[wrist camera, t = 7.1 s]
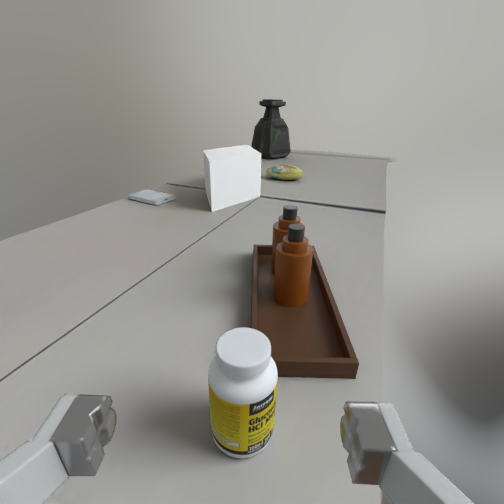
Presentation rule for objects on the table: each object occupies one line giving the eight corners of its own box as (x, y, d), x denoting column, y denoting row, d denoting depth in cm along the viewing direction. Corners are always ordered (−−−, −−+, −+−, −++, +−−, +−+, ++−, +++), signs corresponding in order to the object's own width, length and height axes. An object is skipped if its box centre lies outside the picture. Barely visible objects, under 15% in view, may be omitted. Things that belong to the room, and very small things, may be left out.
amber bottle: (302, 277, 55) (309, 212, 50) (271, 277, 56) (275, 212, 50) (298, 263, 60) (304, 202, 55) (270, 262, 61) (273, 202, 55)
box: (180, 208, 91) (175, 160, 84) (223, 179, 125) (222, 143, 119) (244, 215, 86) (245, 164, 80) (271, 182, 121) (272, 145, 115)
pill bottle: (255, 475, 27) (258, 388, 22) (198, 440, 29) (190, 355, 24) (283, 417, 31) (291, 335, 26) (232, 392, 34) (231, 313, 29)
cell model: (301, 177, 120) (267, 160, 121) (294, 193, 125) (261, 177, 126) (307, 166, 127) (276, 151, 128) (300, 182, 133) (270, 167, 134)
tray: (355, 378, 36) (359, 363, 35) (249, 375, 36) (250, 360, 35) (312, 256, 64) (313, 245, 63) (253, 255, 64) (253, 244, 63)
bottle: (291, 157, 176) (295, 100, 163) (270, 160, 167) (273, 99, 153) (269, 153, 189) (272, 99, 175) (249, 156, 179) (250, 99, 165)
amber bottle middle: (309, 307, 47) (319, 234, 42) (274, 306, 47) (278, 233, 42) (304, 287, 52) (312, 220, 47) (272, 287, 52) (276, 219, 47)
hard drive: (128, 194, 98) (155, 200, 92) (147, 189, 104) (174, 194, 98) (129, 199, 98) (156, 205, 93) (148, 193, 105) (175, 199, 99)
